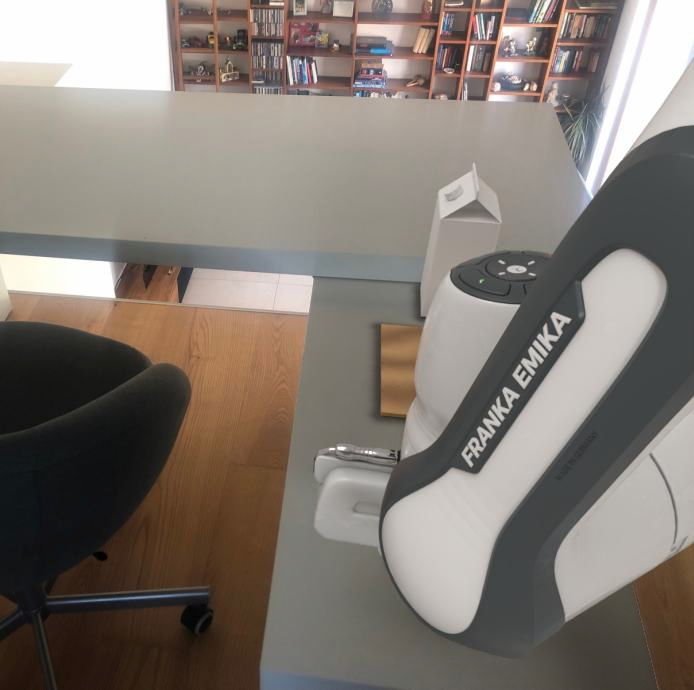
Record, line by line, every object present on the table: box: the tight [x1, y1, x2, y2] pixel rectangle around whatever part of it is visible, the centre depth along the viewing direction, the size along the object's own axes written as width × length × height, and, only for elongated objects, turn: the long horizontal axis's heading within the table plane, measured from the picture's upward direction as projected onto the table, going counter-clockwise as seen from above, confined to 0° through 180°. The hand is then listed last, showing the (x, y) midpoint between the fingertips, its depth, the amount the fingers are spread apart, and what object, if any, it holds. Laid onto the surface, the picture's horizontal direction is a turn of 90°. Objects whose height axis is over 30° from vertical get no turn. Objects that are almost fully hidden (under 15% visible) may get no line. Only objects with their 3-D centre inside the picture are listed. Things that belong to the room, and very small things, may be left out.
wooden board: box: [380, 323, 424, 419], centre depth 83 cm, size 16×16×1 cm
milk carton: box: [419, 162, 503, 318], centre depth 88 cm, size 7×7×19 cm
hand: (435, 575), depth 56 cm, fingers closed on supplement bottle, 5 cm apart
